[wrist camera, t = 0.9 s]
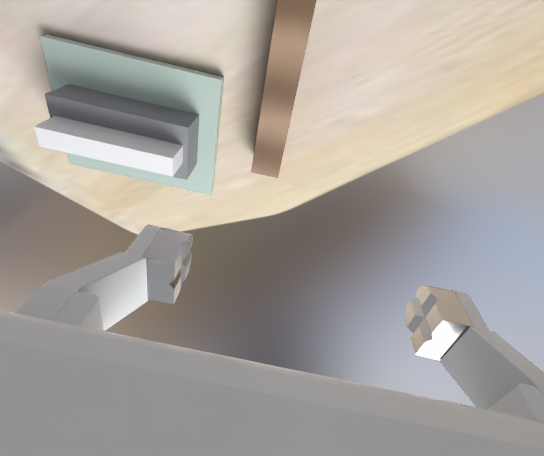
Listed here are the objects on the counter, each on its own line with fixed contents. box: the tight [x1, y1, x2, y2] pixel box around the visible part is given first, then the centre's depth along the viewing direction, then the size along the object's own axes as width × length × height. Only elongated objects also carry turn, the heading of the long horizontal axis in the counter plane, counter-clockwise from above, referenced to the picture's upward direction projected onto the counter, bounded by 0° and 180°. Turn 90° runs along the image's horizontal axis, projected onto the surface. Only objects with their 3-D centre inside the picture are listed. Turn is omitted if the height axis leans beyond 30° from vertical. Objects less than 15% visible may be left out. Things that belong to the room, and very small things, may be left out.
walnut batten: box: [251, 0, 316, 178], centre depth 31 cm, size 18×3×4 cm, turn 170°
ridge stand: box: [34, 34, 224, 195], centre depth 33 cm, size 14×18×8 cm
